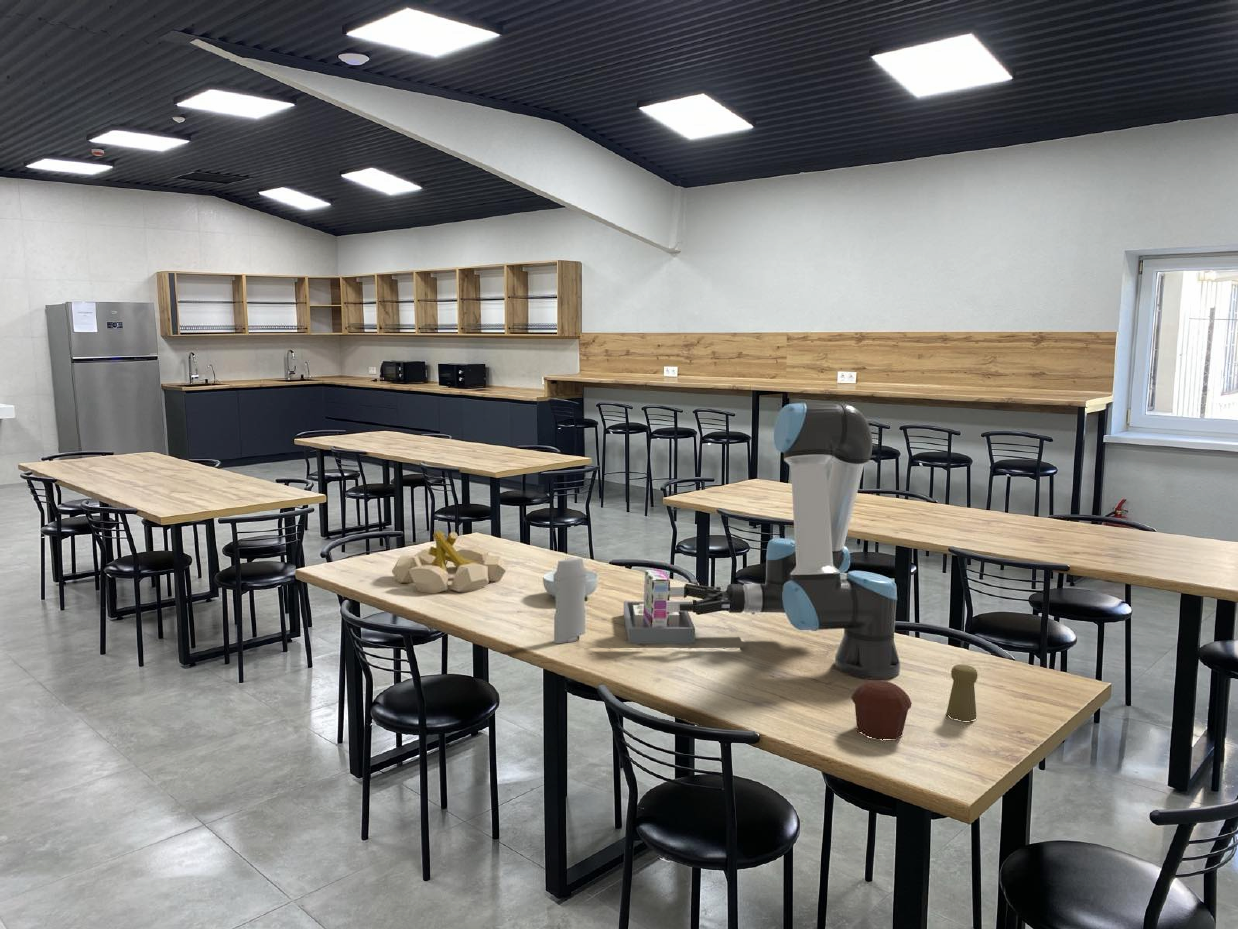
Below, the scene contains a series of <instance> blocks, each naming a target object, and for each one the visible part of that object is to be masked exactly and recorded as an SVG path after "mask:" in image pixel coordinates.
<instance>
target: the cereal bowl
mask: <svg viewBox="0 0 1238 929" xmlns="http://www.w3.org/2000/svg"><path fill="white" fill-rule="evenodd" d="M556 571H557V569H556V570H551V571H549V572H546V573H545V574H543V576H542V583H543V586H544V590H545V591H546V592H547V593H548V594H549V595H551V596H553V597H555V591H556V589H555V588H554V584H553V581H554V580H553V579H554V573H555V572H556ZM599 580H600V579H599V574H598V573H597V572H595V571H593V570H588V569H587V582H586V583H585V585H584V586H585V592H584V593H585V594H584V595H585V597H587V596H591V595H592V594H593V593H594V592H595V591H596V590H597V589H598V586H599ZM585 597H584V598H585Z"/></svg>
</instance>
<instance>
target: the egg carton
mask: <svg viewBox="0 0 1238 929" xmlns="http://www.w3.org/2000/svg"><path fill="white" fill-rule="evenodd" d="M643 614H644V604H639V605H633V621H634V626H635V627H643ZM668 627H679V613H678V612H669V625H668Z"/></svg>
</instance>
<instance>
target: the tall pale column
mask: <svg viewBox="0 0 1238 929" xmlns="http://www.w3.org/2000/svg"><path fill="white" fill-rule="evenodd" d="M556 570H557V571H556ZM556 570H555V571H556V572H555V573H554V579H553V580H554V581H553V584H554V588H555V589H556V591H555V596H554V597H555V612H554V618H553V623H554V624H553V625H554V626H553V628H554V629H553V630H554V631H553V632H554V633H553V637H554V638H553V643H554V644H556V645H557V644H561V645H562V644H564V643H575V642H577V641H579V640H580V636H583V635H585V634H586V606H585V600H586V599H585V595H584V594H585V593H584V592H585V586H584V585H585V583H586V582H587V570H588V569H587V568H586V566H585V564H584V559H583V557H574V556H573V557H567V558H565V559H563V560H558V562H557V567H556Z"/></svg>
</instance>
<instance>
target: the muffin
mask: <svg viewBox="0 0 1238 929" xmlns="http://www.w3.org/2000/svg"><path fill="white" fill-rule="evenodd" d="M850 700H851V701H852V702H853V704H854V710H855V719H856V720H855V723H856V728H857V727H858V728H857V731H859V732H862V733H863V734H865V735H866V736H869V737H872V738H876V739H882V740H883V739H896V738H897V737H899V736H901V735H902V736H903V733H904V728H905V724H906V721H907V716H908V711H909V710H910V709H911V707H912V705H913V703H912V701H911V699H910V696H909V695H908V693H906V692H905V690H904V689H902V688H901V687H900V686H898V685H897V684H895V683H892V682H890V681H885V680H871V681H868V682H866V683H863V684H862V683H861V685H859V686H858V687H857V688H856V689H855V690H854V692H853V693H852V695H851V697H850ZM866 736H865V737H866ZM902 736H901V737H902ZM899 738H900V737H899ZM876 739H875V740H876ZM897 739H898V738H897ZM897 739H896V740H897Z"/></svg>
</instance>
